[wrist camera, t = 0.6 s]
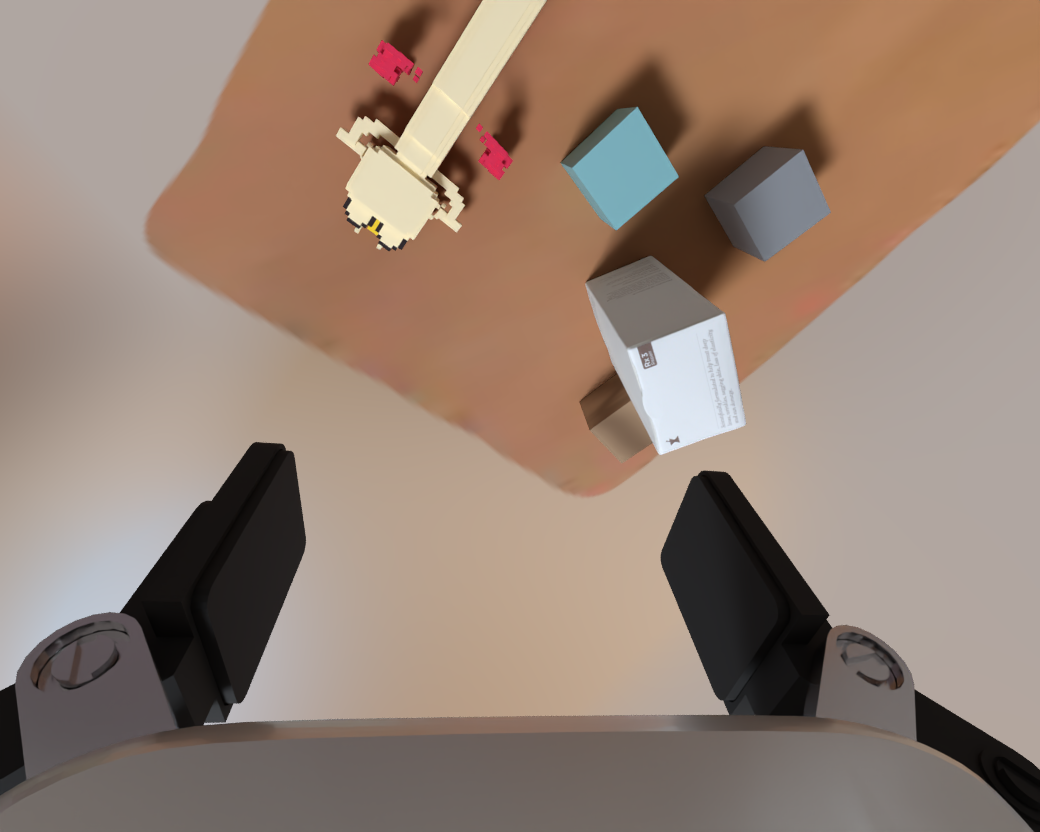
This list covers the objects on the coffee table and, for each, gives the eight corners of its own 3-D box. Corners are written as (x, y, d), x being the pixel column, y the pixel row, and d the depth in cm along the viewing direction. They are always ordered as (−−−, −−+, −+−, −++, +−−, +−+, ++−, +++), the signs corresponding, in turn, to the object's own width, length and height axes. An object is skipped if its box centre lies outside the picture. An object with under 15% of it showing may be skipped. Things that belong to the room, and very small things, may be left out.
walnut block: (622, 369, 43) (637, 395, 39) (650, 403, 46) (668, 431, 41) (579, 401, 45) (589, 430, 41) (609, 432, 47) (621, 463, 43)
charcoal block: (763, 146, 35) (803, 149, 30) (790, 202, 37) (830, 212, 32) (703, 195, 36) (733, 204, 32) (733, 246, 38) (764, 261, 34)
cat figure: (529, -201, 26) (306, 192, 33) (562, -355, 18) (263, 200, 26) (649, -42, 30) (426, 279, 37) (719, -115, 22) (419, 308, 29)
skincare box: (671, 338, 42) (754, 429, 29) (607, 363, 43) (661, 463, 30) (649, 248, 38) (735, 310, 25) (578, 278, 39) (627, 353, 26)
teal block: (616, 109, 33) (637, 106, 28) (654, 170, 35) (678, 176, 31) (560, 162, 34) (572, 168, 30) (600, 218, 36) (616, 230, 32)
